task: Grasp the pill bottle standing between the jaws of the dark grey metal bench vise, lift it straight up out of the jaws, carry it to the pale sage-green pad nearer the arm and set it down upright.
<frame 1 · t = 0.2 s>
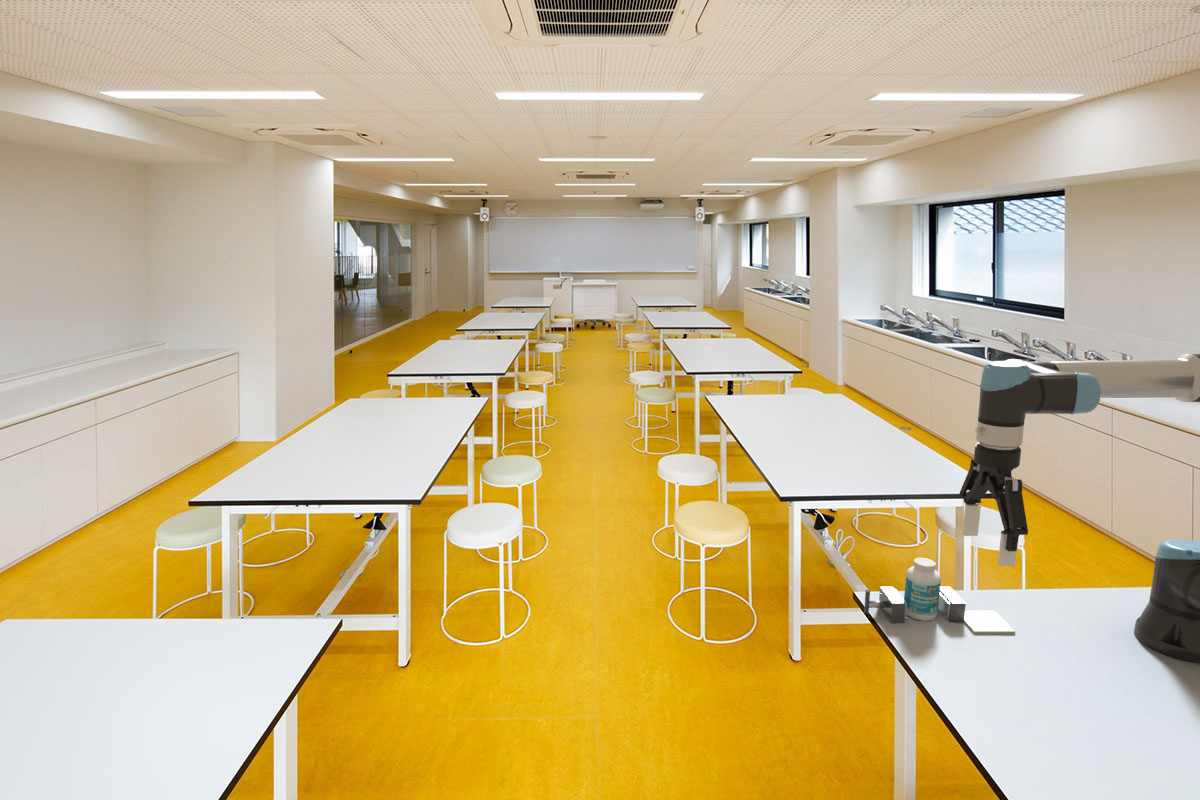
hand: (987, 549, 132), 28 cm above the table, fingers open, 13 cm apart
pad: (984, 623, 158), on the table
vise: (920, 613, 162), on the table
pill bottle: (920, 614, 163), on the table
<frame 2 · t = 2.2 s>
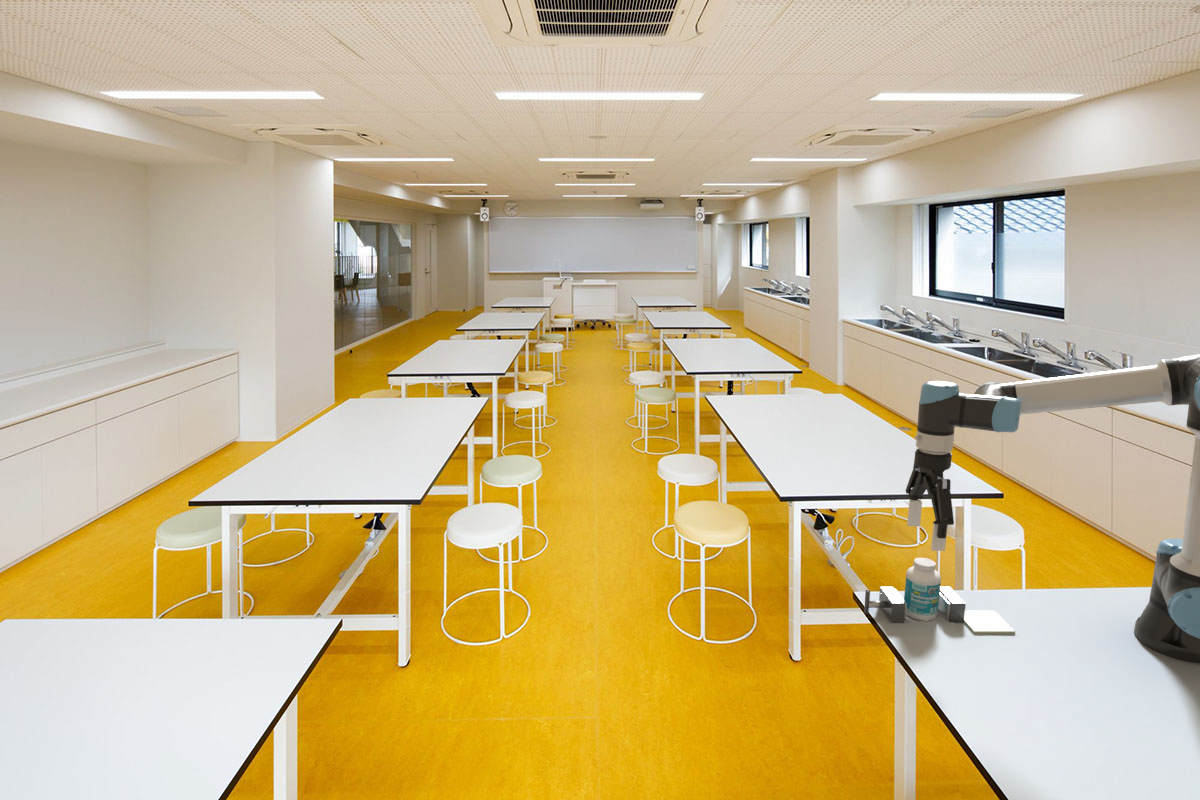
hand: (925, 537, 158), 20 cm above the table, fingers open, 13 cm apart
nothing on the table moved.
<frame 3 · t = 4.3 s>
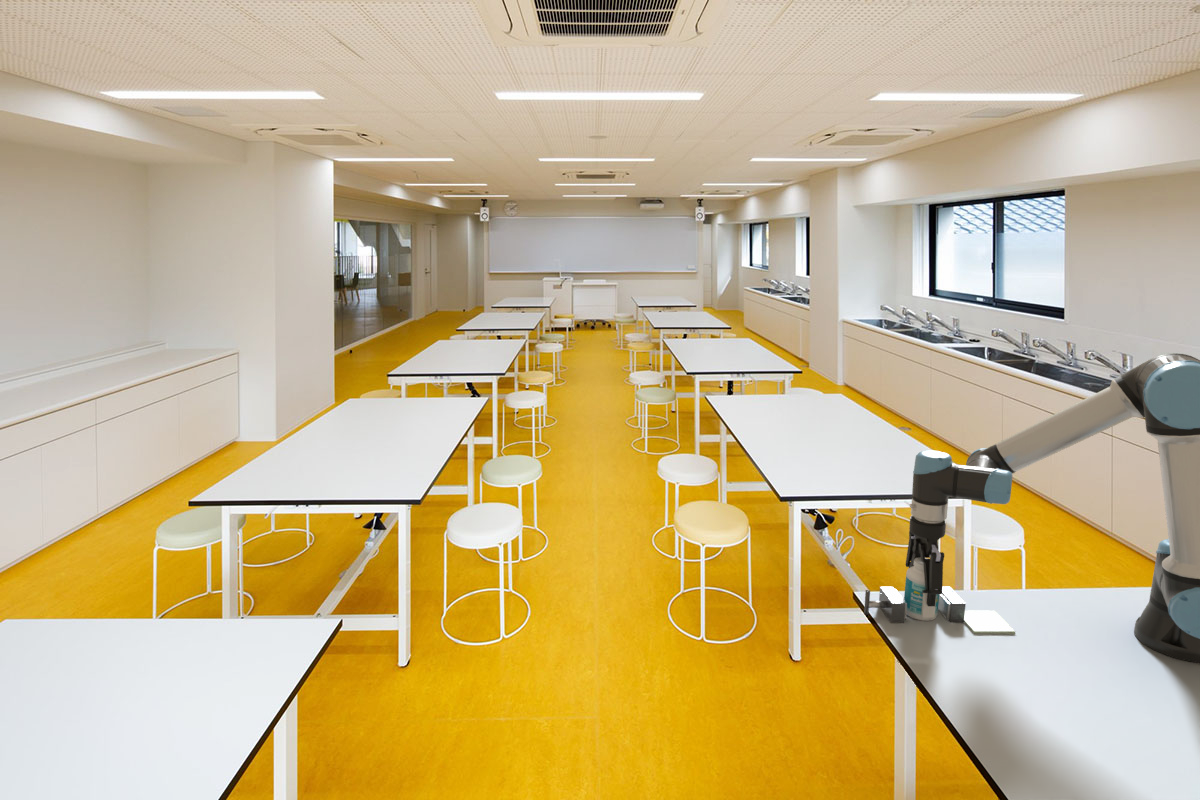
hand: (920, 607, 162), 2 cm above the table, fingers closed on pill bottle, 7 cm apart
pill bottle: (920, 614, 163), on the table, touching gripper
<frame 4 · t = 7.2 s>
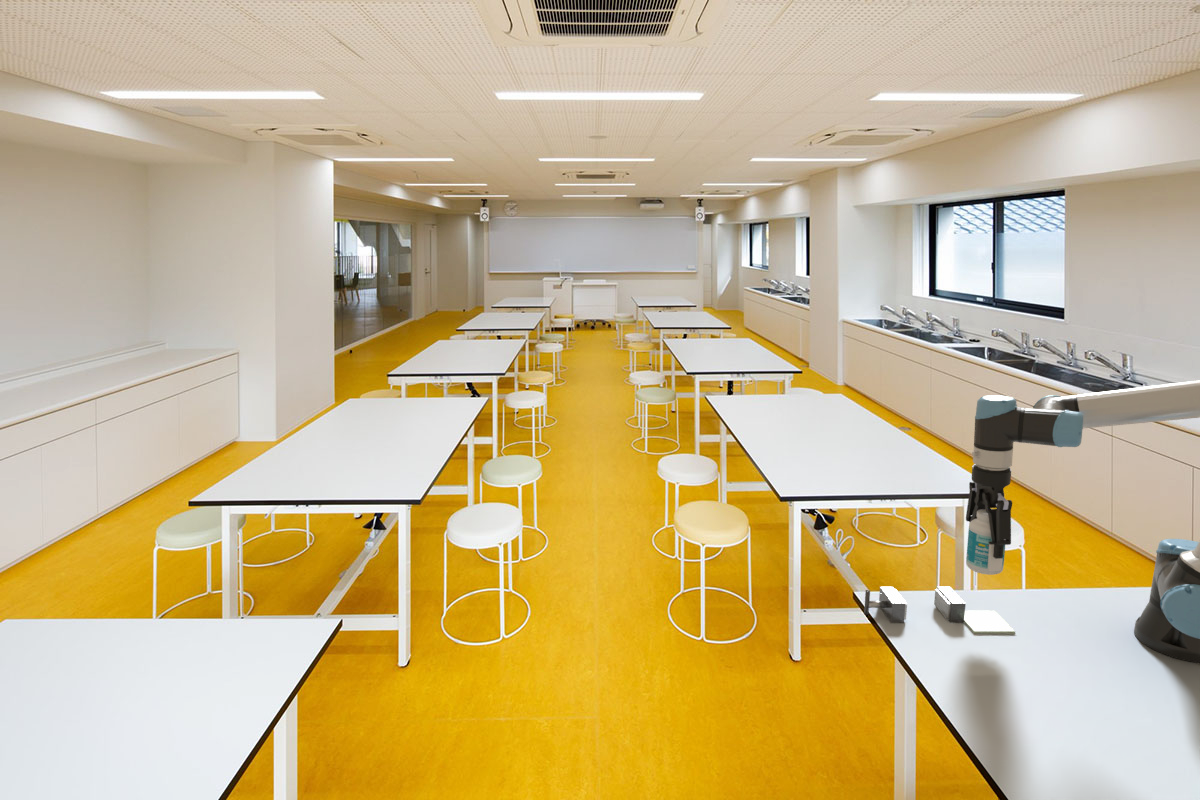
hand: (985, 562, 155), 15 cm above the table, fingers closed on pill bottle, 7 cm apart
pill bottle: (984, 569, 155), point 13 cm above the table, touching gripper
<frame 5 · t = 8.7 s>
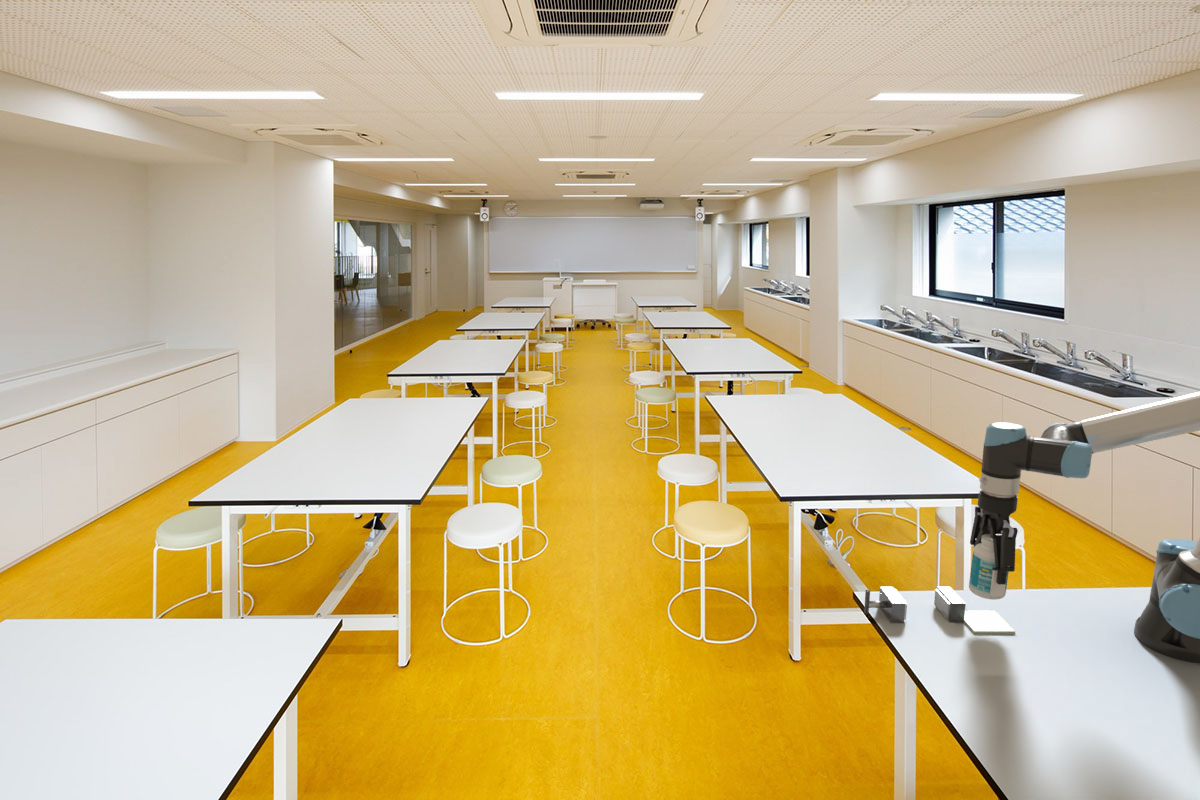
hand: (987, 586, 156), 9 cm above the table, fingers closed on pill bottle, 7 cm apart
pill bottle: (986, 593, 156), point 7 cm above the table, touching gripper
when the fingers open (4 cm above the table, at t = 10.1 s): pill bottle drops 1 cm, resting on pad.
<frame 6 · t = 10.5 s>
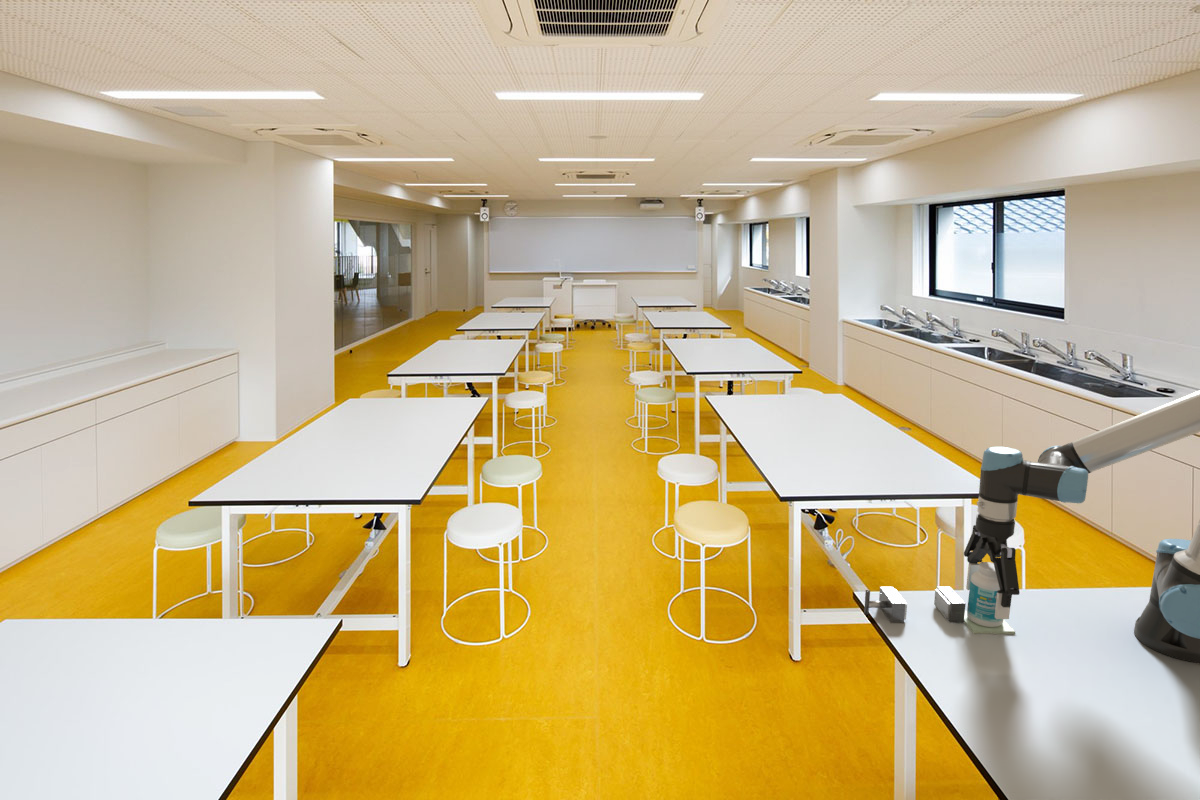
hand: (986, 603, 157), 5 cm above the table, fingers open, 12 cm apart
pill bottle: (984, 621, 158), resting on pad
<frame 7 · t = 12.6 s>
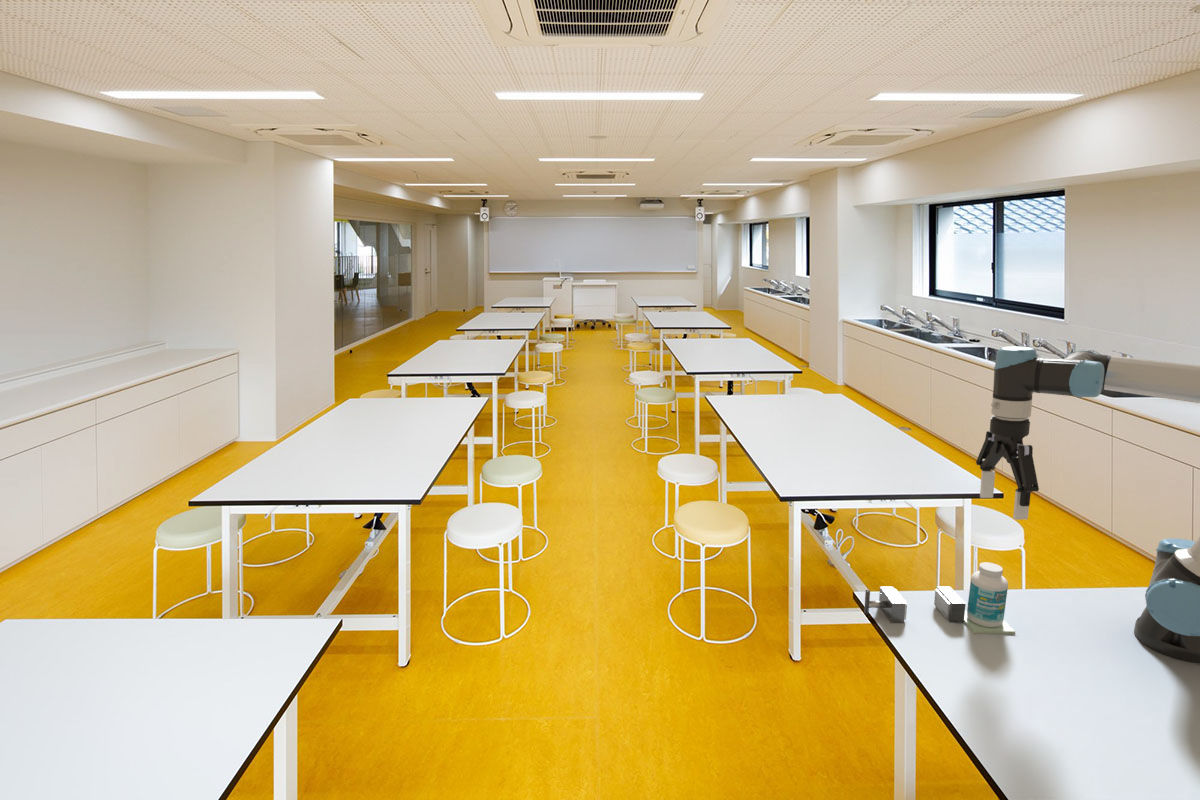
hand: (1002, 507, 155), 27 cm above the table, fingers open, 13 cm apart
nothing on the table moved.
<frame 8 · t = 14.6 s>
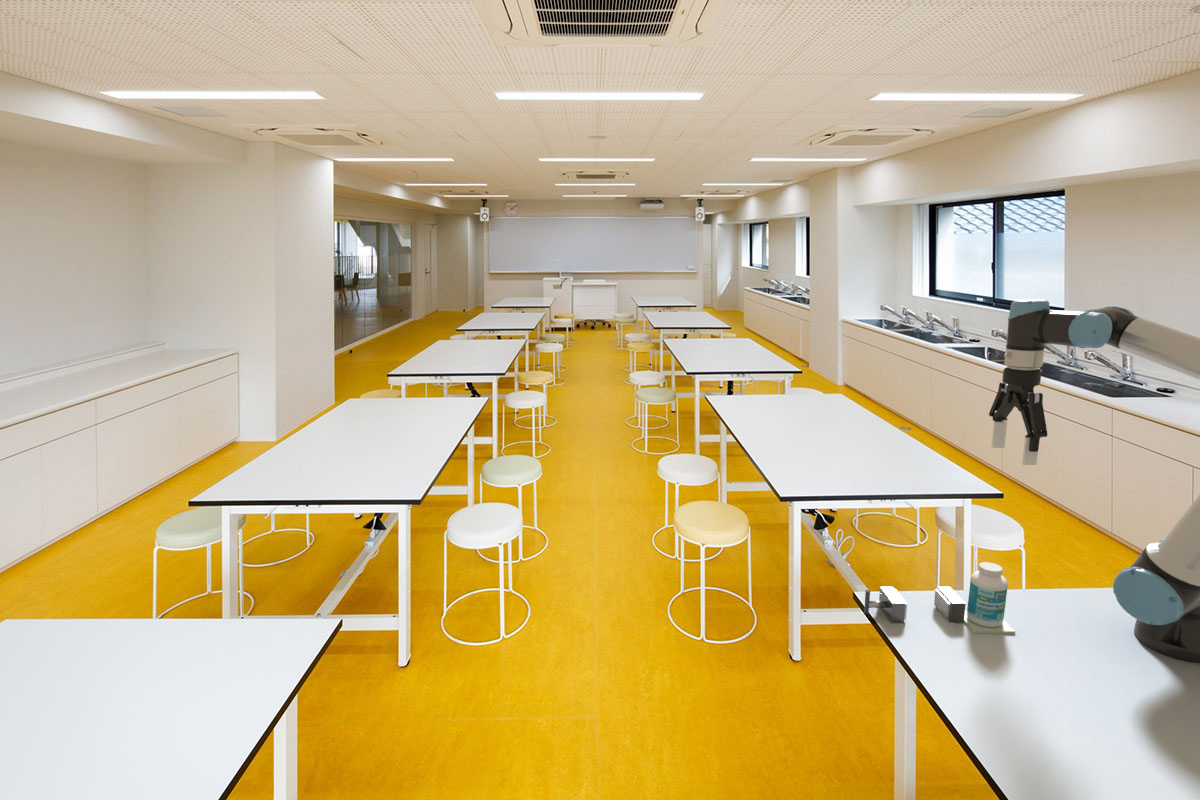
hand: (1012, 455, 161), 37 cm above the table, fingers open, 13 cm apart
nothing on the table moved.
at the end: pill bottle inside the target area on the pad (0.2 cm from its centre), point 0.4 cm above the pad's base; pill bottle tilted 0°; the gripper is holding nothing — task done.
